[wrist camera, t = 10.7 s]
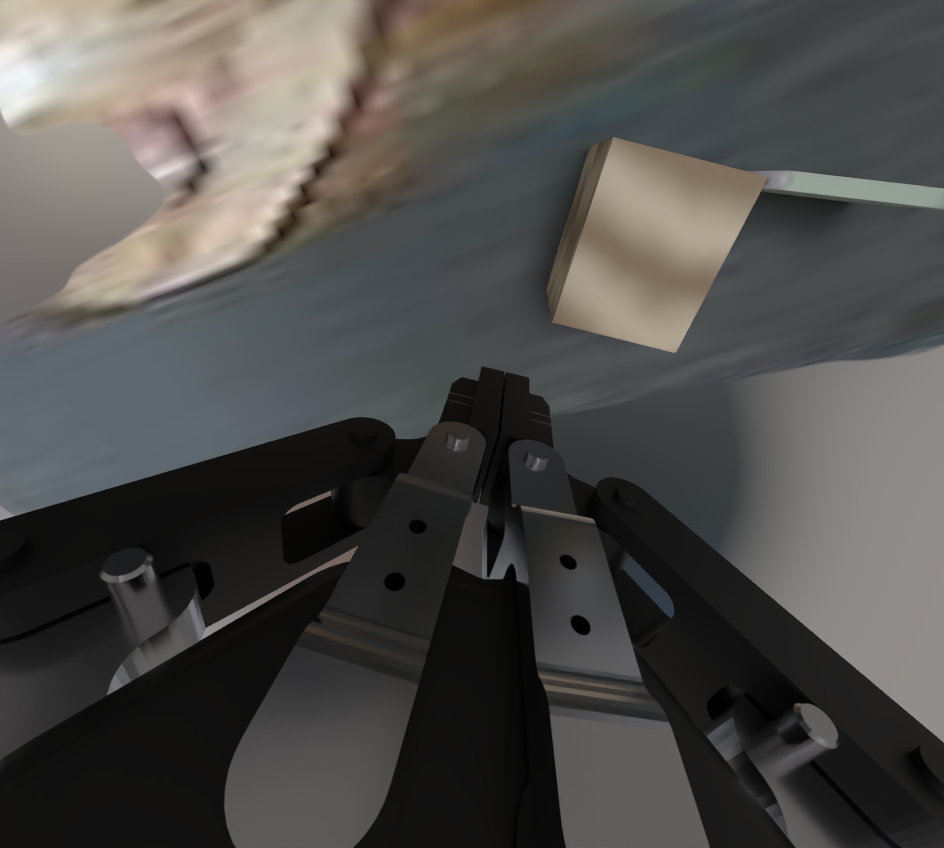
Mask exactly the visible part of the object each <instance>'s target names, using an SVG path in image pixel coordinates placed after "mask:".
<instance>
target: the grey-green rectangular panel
mask: <svg viewBox="0 0 944 848" xmlns="http://www.w3.org/2000/svg"><path fill="white" fill-rule="evenodd" d="M747 172H751V173H754V174H758V175H762V176H766V177H768V179H767V181H766V183H765V184H764V186H763V188H762V190H761V192H768V193H776V194H785V195H793V196H802V197H810V198H818V199H827V200H835V201H844V202H852V203H863V204H875V205H887V206H899V207H911V208H923V209H935V210H944V189H943V188H934V187H925V186H917V185H908V184H900V183H891V182H882V181H874V180H865V179H856V178H848V177H839V176H831V175H822V174H813V173H805V172H796V171H747Z"/></svg>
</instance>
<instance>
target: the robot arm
mask: <svg viewBox="0 0 944 848" xmlns="http://www.w3.org/2000/svg"><path fill="white" fill-rule="evenodd" d="M481 488H482V489H481ZM328 491H331V496H329V497H327V498H324V499H322V500H319V501H317V502H315V503H312V504H310V505H307V506H305V507H303V508H300V509H298V510H296V511H293V512H291V513H289V514H286V512H287V511H288V510H289V509H291V508H292V507H294V506H295V505H297V504H299V503H301V502H304V501H306V500H308V499H311V498H313V497H316V496H318V495H321V494H323V493H326V492H328ZM480 492H481V497H480V504H483V505H488V506H489V509H488V514H487V517H486V521H485V524H484V527H483V555H482V578H479V577H476V576H474V575H472V574H470V573H468V572H466V571H464V570H462V569H460V568H458V567H456V566H453V565H452V564H453V561H454V557H455V554H456V550H457V546H458V543H459V539H460V536H461V532H462V528H463V525H464V522H465V518H466V517H467V516H468V514H469V512H470V509H471V505H472V502H474V503H477V502H478V498H479V495H480ZM285 514H286V515H285ZM358 545H359V546H358ZM356 546H358V548H357V549H356V551H355V553H354V555H353V557H352V558H351V560H350V561H349V562H345V563H341V564H338V565H335V566H331V567H329V568H326V569H324V570H322V571H320V572H317V573H315V574H313V575H312V576H310V577H308V578H306V579H305V580H303V581H301V582H299V583H298V584H296V585H294V586H293V587H291V588H289V589H288V590H286V591H284V592H282V593H281V594H279V595H277V596H276V597H274V598H272V599H271V600H269V601H267V602H265V603H264V604H262V605H260V606H259V607H257V608H255V609H254V610H252V611H250V612H248V613H247V614H245V615H243V616H242V617H240V618H238V619H236V620H235V621H233V622H231V623H230V624H228V625H226V626H225V627H223V628H221V629H220V630H218V631H216V632H214V633H213V634H211V635H209V636H207V637H206V638H204V639H202V640H201V638H202V636H203V634H204V631H205V628H206V627H208V626H210V625H212V624H214V623H216V622H218V621H219V620H221V619H223V618H225V617H227V616H228V615H231V614H232V613H234V612H236V611H238V610H240V609H242V608H244V607H245V606H247V605H249V604H251V603H253V602H255V601H256V600H258V599H260V598H262V597H264V596H265V595H268V594H269V593H271V592H273V591H275V590H277V589H279V588H281V587H282V586H284V585H286V584H288V583H290V582H292V581H294V580H295V579H297V578H299V577H301V576H303V575H304V574H306V573H308V572H310V571H312V570H314V569H316V568H318V567H319V566H321V565H323V564H325V563H327V562H329V561H330V560H332V559H334V558H336V557H338V556H340V555H342V554H344V553H345V552H347V551H349V550H351V549H353V548H355V547H356ZM630 556H631V557H632V558H633V559H634V560H635V561H636V562H637V563H638V564H639V565H640V566H641V567H642V568H643V569H644V570H645V571H646V572H647V573H648V574H649V575H650V576H651V577H652V578H653V579H654V580H655V581H656V582H657V583H658V584H659V585H660V586H661V587H662V588H663V589H664V590H665V591H666V592H667V593H668V595H669V596H670V597H671V600H672V601H673V604H674V610H675V611H674V616H673V617H672V618H670V617H669V616H667V615H666V614H665V613H664V612H663V611H662V610H661V609H660V608H659V607H658V605H657V604H656V603H655V602H654V601H653V600H652V599H651V598H650V597H649V596H648V595H647V594H646V593H645V592H644V591H643V590H642V589H641V588H640V587H639V586H638V585H637V583H635V581H634V580H633V579H632V578H631V577H630V576H629V575H628V574H627V573H626V572H625V571H624V570H623V569H622V568H623V566H624V565H625V563H626V562H627V560H628V558H629V557H630ZM200 640H201V641H200ZM0 848H944V743H943V742H942V741H941V740H940V739H939V738H937V737H936V736H935V735H934V734H932V732H930V731H929V730H928V729H926V727H924V726H923V725H922V724H921V723H920V722H918V721H917V720H916V719H915V718H914V717H913V716H911V715H910V714H909V713H908V712H907V711H905V710H904V709H903V708H902V707H901V706H899V705H898V704H897V703H896V702H895V701H893V700H892V699H891V698H890V697H889V696H887V695H886V694H885V693H884V692H883V691H882V690H880V689H879V688H878V687H877V686H875V685H874V684H873V683H872V682H871V681H870V680H869V679H867V678H866V677H865V676H864V675H863V674H861V673H860V672H859V671H858V670H856V668H854V667H853V666H852V665H851V664H850V663H848V662H847V661H846V660H845V659H844V658H842V657H841V656H840V655H839V654H838V653H837V652H835V651H834V650H833V649H832V648H831V647H829V646H828V645H827V644H826V643H825V642H823V641H822V640H821V639H820V638H819V637H817V636H816V635H815V634H814V633H813V632H811V631H810V630H809V629H808V628H807V627H806V626H804V625H803V624H802V623H801V622H800V621H799V620H797V619H796V618H795V617H794V616H793V615H791V614H790V613H789V612H788V611H787V610H785V609H784V608H783V607H782V606H780V605H779V604H778V603H777V602H776V601H775V600H774V599H772V598H771V597H770V596H769V595H768V594H766V593H765V592H764V591H763V590H761V588H759V587H758V586H757V585H756V584H755V583H753V582H752V581H751V580H750V579H749V578H747V577H746V576H745V575H744V574H743V573H741V572H740V571H739V570H738V569H737V568H736V567H734V566H733V565H732V564H731V563H730V562H728V561H727V560H726V559H725V558H724V557H723V556H721V555H720V554H719V553H718V552H717V551H715V550H714V549H713V548H712V547H711V546H709V545H708V544H707V543H706V542H705V541H703V540H702V539H701V538H700V537H699V536H698V535H696V534H695V533H694V532H693V531H692V530H690V529H689V528H688V527H687V526H686V525H684V524H683V523H682V522H681V521H680V520H678V519H677V518H676V517H675V516H674V515H673V514H671V513H670V512H669V511H668V510H667V509H666V508H664V507H663V506H662V505H661V504H660V503H658V502H657V501H656V500H655V499H654V498H652V497H651V496H650V495H649V494H648V493H646V492H645V491H644V490H643V489H641V488H640V487H638V486H637V485H635V484H633V483H631V482H628V481H626V480H623V479H619V478H604V479H602V480H600V481H599V482H598V484H597V486H596V488H595V487H592V486H590V485H588V484H586V483H584V482H582V481H580V480H578V479H576V478H574V477H572V476H571V475H569V474H568V473H567V472H566V467H565V463H564V460H563V458H562V457H561V455H560V454H559V453H558V452H557V451H556V450H554V448H553V439H552V429H551V419H550V409H549V406H548V404H547V403H546V402H545V400H544V399H543V398H542V397H541V396H537V395H533V394H529V378H528V377H524V376H520V375H516V374H512V373H508V372H506V374H505V376H504V372H503V371H499V370H495V369H491V368H487V367H483V366H482V368H481V372H480V376H479V380H478V381H475V380H471V379H467V378H463V377H461V378H460V379H458V380H457V381H455V382H454V383H452V386H451V389H450V392H449V395H448V398H447V401H446V403H445V406H444V409H443V412H442V415H441V418H440V421H439V423H438V424H437V425H435V426H433V427H432V428H431V430H430V431H429V433H428V435H427V436H426V437H423V438H419V439H395V432H394V431H393V429H392V428H391V427H390V426H389V425H387V424H386V423H384V422H382V421H379V420H376V419H373V418H365V417H357V418H350V419H346V420H343V421H339V422H336V423H333V424H329V425H326V426H322V427H319V428H315V429H312V430H309V431H305V432H302V433H298V434H295V435H291V436H288V437H285V438H281V439H278V440H274V441H271V442H267V443H264V444H261V445H257V446H254V447H250V448H247V449H243V450H240V451H237V452H233V453H230V454H226V455H223V456H219V457H216V458H213V459H209V460H206V461H202V462H199V463H195V464H192V465H189V466H185V467H182V468H178V469H175V470H171V471H168V472H165V473H161V474H158V475H154V476H151V477H147V478H144V479H141V480H137V481H134V482H130V483H127V484H123V485H120V486H117V487H113V488H110V489H106V490H103V491H99V492H96V493H93V494H89V495H86V496H82V497H79V498H75V499H72V500H69V501H65V502H62V503H58V504H55V505H51V506H48V507H45V508H41V509H38V510H34V511H31V512H27V513H24V514H21V515H17V516H14V517H11V518H7V519H4V520H0Z"/></svg>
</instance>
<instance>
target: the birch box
mask: <svg viewBox="0 0 944 848" xmlns="http://www.w3.org/2000/svg"><path fill="white" fill-rule="evenodd" d="M767 179H768V177H766V176H762V175H758V174H754V173H751V172H747V171H743V170H739V169H735V168H731V167H727V166H723V165H719V164H716V163H712V162H708V161H704V160H700V159H696V158H692V157H688V156H684V155H680V154H677V153H673V152H669V151H665V150H661V149H657V148H653V147H649V146H645V145H642V144H638V143H634V142H630V141H626V140H622V139H618V138H614V137H613V138H610V139H608V140H606V141H603V142H601V143H599V144H596V145H594V146H592V147H589V150H588V153H587V157H586V160H585V163H584V166H583V170H582V173H581V176H580V179H579V183H578V186H577V189H576V192H575V196H574V199H573V202H572V205H571V209H570V212H569V215H568V218H567V222H566V225H565V228H564V231H563V235H562V238H561V241H560V245H559V248H558V251H557V254H556V258H555V261H554V264H553V267H552V271H551V274H550V277H549V280H548V284H547V287H546V292H547V297H548V303H549V308H550V314H551V319H552V323H557V324H561V325H565V326H569V327H573V328H577V329H581V330H585V331H589V332H593V333H597V334H601V335H605V336H609V337H613V338H617V339H621V340H625V341H629V342H633V343H637V344H641V345H645V346H649V347H653V348H657V349H661V350H665V351H669V352H673V353H676V351H677V349H678V348H679V346H680V344H681V342H682V340H683V338H684V336H685V334H686V332H687V330H688V329H689V327H690V325H691V323H692V321H693V319H694V317H695V315H696V313H697V311H698V310H699V308H700V306H701V304H702V302H703V300H704V298H705V296H706V294H707V293H708V291H709V289H710V287H711V285H712V283H713V281H714V279H715V277H716V275H717V274H718V272H719V270H720V268H721V266H722V264H723V262H724V260H725V258H726V256H727V255H728V253H729V251H730V249H731V247H732V245H733V243H734V241H735V239H736V238H737V236H738V234H739V232H740V230H741V228H742V226H743V224H744V222H745V220H746V219H747V217H748V215H749V213H750V211H751V209H752V207H753V205H754V203H755V201H756V200H757V198H758V196H759V194H760V192H761V190H762V188H763V186H764V184H765V183H766V181H767Z"/></svg>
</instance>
